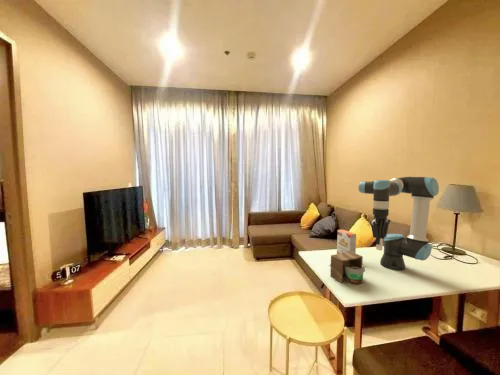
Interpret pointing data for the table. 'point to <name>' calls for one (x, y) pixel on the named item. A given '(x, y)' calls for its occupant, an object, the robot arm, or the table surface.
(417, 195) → the robot arm
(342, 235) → the cracker box
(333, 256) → the walnut shelf
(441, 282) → the table surface
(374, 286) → the table surface
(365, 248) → the table surface
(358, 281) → the food container
